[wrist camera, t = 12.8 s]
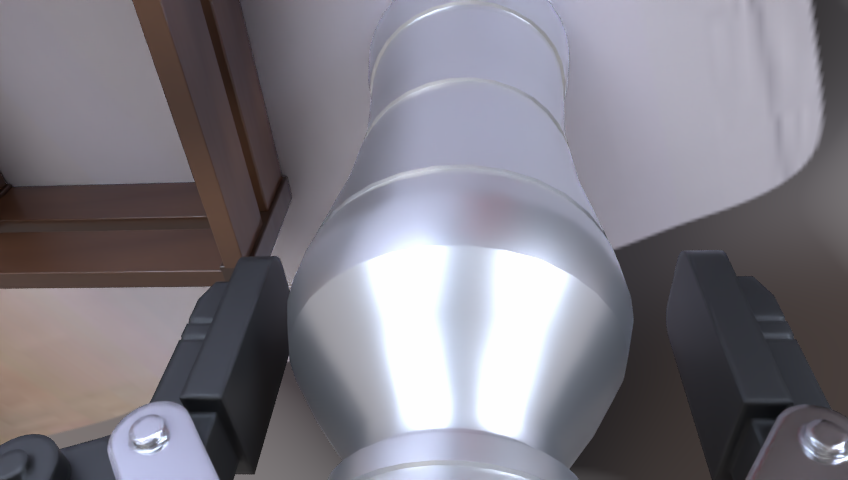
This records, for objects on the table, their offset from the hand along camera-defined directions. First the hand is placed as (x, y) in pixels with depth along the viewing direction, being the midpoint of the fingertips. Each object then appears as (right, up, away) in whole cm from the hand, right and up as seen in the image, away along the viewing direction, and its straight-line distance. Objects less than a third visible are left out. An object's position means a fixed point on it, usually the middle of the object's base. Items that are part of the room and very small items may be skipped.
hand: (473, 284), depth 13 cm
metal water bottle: (+1, +8, +11) cm, 14 cm away
